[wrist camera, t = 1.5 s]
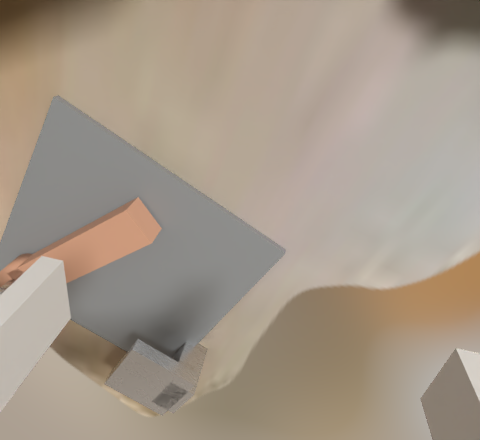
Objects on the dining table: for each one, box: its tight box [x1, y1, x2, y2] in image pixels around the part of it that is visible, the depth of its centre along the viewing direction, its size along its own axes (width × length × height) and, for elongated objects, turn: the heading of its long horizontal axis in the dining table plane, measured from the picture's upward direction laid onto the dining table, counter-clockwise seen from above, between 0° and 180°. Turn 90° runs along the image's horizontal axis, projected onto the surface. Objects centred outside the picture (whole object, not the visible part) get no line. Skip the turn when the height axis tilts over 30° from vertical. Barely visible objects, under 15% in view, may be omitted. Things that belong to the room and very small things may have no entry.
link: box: [0, 197, 162, 287], centre depth 39 cm, size 21×5×3 cm, turn 120°
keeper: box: [105, 339, 207, 415], centre depth 44 cm, size 9×8×6 cm
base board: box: [0, 96, 285, 358], centre depth 41 cm, size 26×26×1 cm
